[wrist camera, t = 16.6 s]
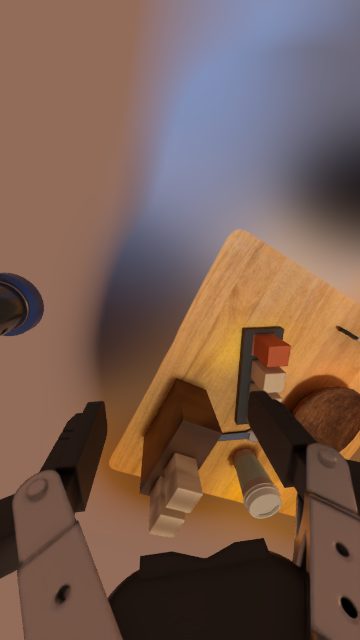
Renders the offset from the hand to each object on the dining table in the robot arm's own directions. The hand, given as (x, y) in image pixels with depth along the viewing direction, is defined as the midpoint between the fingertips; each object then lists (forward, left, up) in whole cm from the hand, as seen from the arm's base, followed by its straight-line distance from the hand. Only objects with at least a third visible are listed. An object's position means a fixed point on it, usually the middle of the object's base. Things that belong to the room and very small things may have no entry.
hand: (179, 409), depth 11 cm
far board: (+22, -19, -32) cm, 43 cm away
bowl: (+39, -31, -32) cm, 59 cm away
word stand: (+2, -28, -32) cm, 43 cm away
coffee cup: (+21, -44, -32) cm, 58 cm away
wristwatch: (+23, -36, -32) cm, 53 cm away
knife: (+47, -11, -32) cm, 58 cm away
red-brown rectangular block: (+22, -10, -30) cm, 39 cm away
